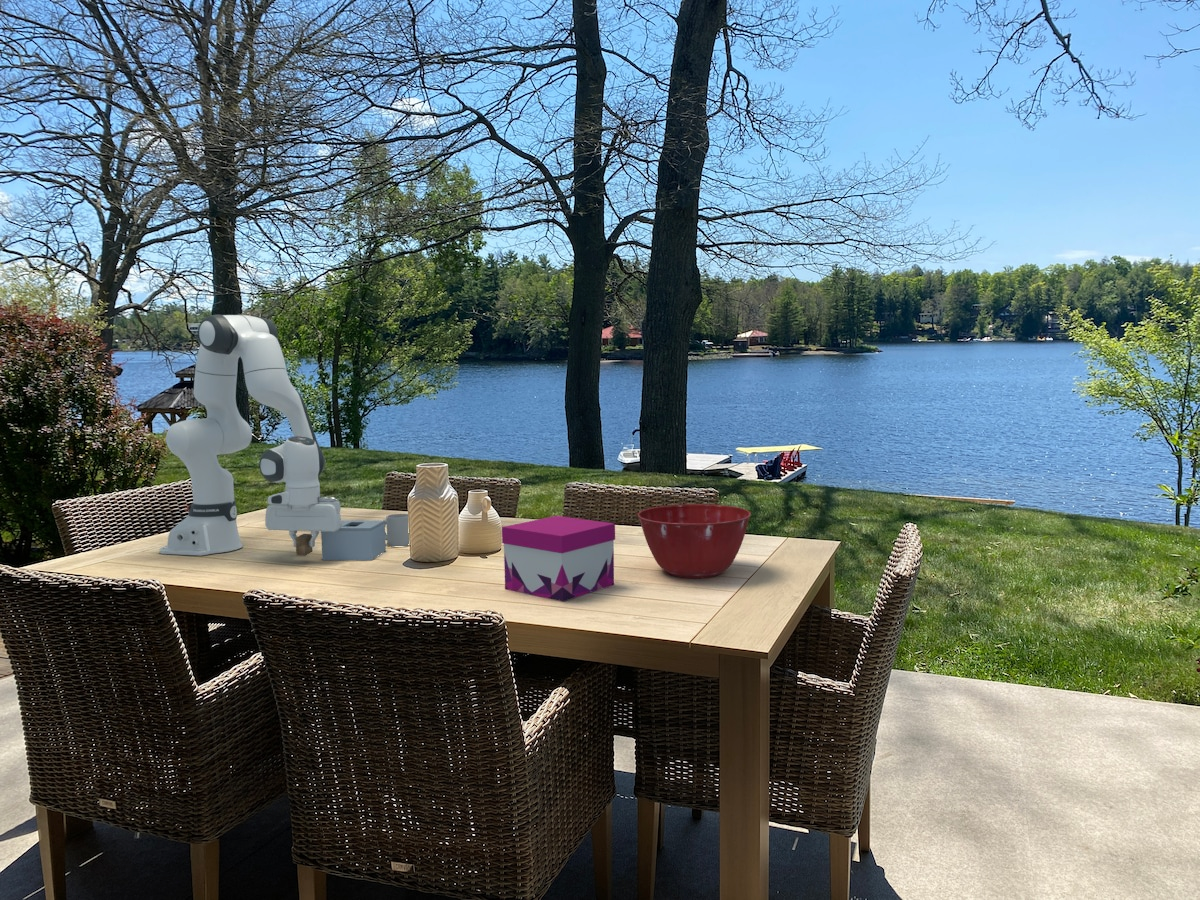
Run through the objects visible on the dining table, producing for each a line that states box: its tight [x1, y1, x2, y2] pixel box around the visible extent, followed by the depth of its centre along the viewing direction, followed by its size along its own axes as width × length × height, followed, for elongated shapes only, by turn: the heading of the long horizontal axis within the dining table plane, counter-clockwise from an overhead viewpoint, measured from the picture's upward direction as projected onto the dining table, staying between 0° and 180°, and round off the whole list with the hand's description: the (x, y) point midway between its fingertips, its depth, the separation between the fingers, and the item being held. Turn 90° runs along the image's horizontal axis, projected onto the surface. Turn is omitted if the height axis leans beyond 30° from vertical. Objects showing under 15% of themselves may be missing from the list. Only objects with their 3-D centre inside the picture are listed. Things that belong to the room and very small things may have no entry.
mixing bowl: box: [637, 503, 752, 579], centre depth 212 cm, size 28×28×15 cm
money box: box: [320, 520, 387, 561], centre depth 237 cm, size 14×12×9 cm
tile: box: [295, 533, 313, 557], centre depth 229 cm, size 2×5×5 cm, turn 176°
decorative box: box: [501, 515, 616, 602], centre depth 199 cm, size 19×19×15 cm
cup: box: [382, 513, 409, 547], centre depth 252 cm, size 7×10×9 cm
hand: (304, 546), depth 229 cm, fingers closed on tile, 2 cm apart
